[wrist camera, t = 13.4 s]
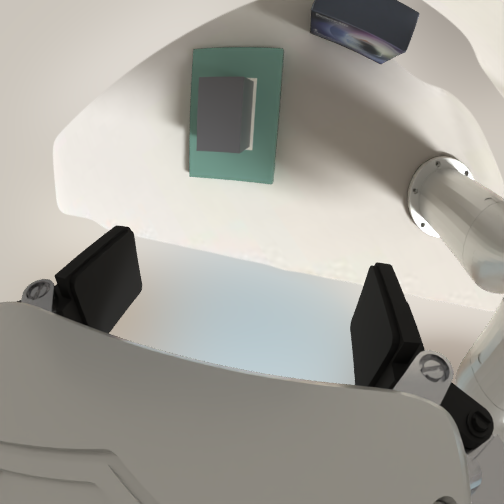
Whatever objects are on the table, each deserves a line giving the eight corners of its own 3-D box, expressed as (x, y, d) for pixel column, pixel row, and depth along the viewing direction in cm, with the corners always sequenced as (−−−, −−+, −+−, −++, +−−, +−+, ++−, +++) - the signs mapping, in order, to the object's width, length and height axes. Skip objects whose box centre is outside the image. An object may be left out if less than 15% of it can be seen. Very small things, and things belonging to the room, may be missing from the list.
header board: (283, 50, 30) (282, 48, 28) (273, 181, 39) (271, 184, 38) (197, 51, 31) (193, 49, 30) (193, 174, 41) (189, 176, 39)
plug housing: (253, 81, 31) (244, 76, 26) (249, 146, 36) (239, 153, 30) (215, 81, 32) (199, 77, 27) (212, 144, 36) (196, 150, 31)
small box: (307, 35, 28) (307, 10, 19) (322, 0, 25) (326, -32, 16) (381, 67, 28) (406, 54, 19) (394, 32, 25) (421, 11, 16)
